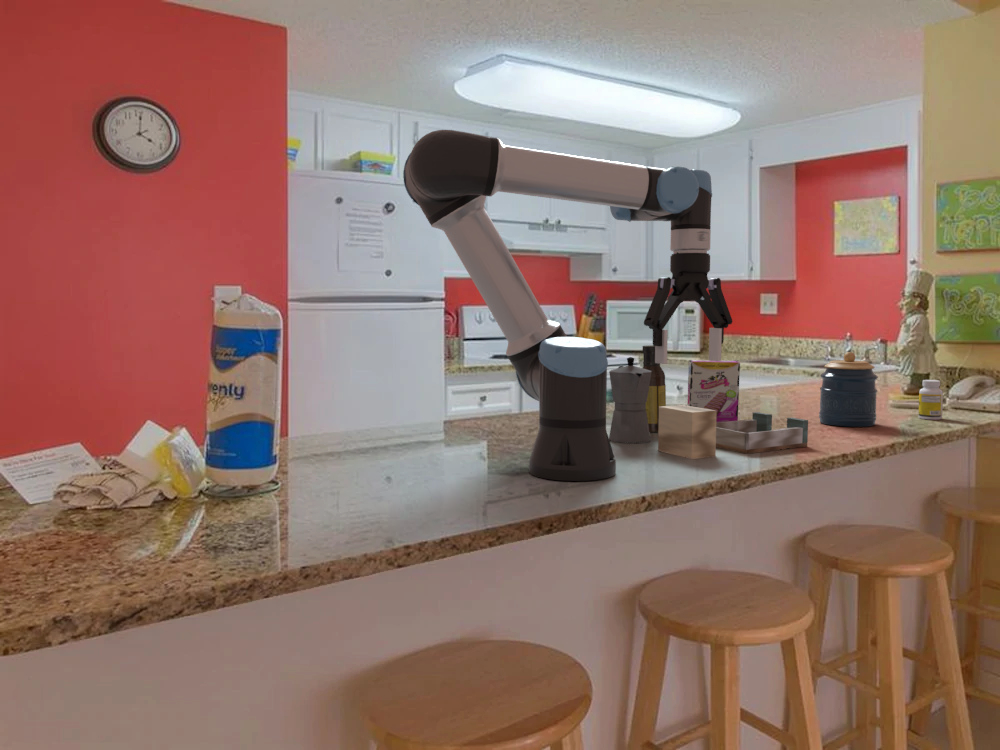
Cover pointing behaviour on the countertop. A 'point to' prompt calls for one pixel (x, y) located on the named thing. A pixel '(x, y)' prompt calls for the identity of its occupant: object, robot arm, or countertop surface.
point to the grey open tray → (761, 434)
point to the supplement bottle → (930, 400)
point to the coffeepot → (630, 404)
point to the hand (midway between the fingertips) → (688, 362)
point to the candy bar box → (715, 387)
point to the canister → (848, 393)
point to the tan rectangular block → (687, 431)
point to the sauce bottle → (654, 388)
